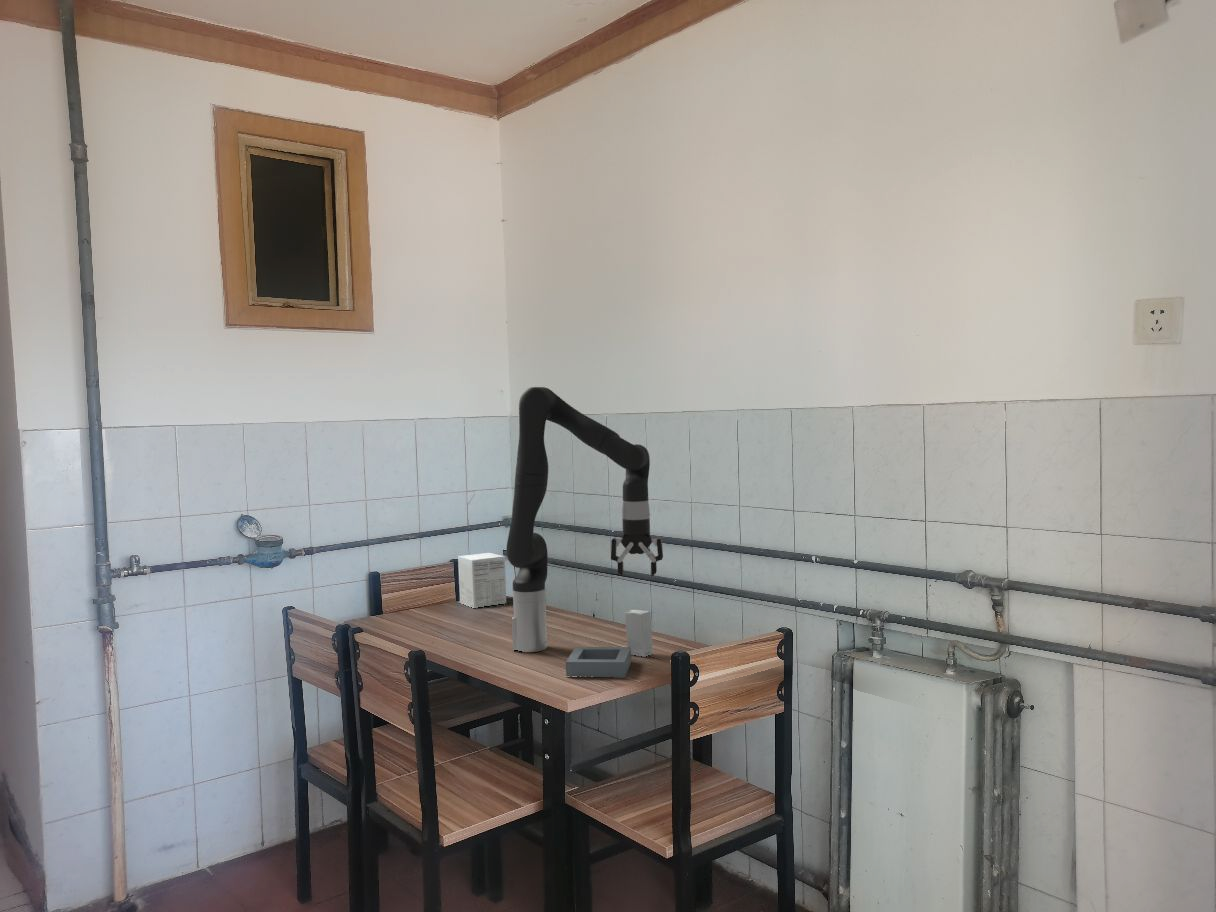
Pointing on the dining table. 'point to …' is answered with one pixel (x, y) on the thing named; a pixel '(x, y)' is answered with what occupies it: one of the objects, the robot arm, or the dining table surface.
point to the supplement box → (482, 579)
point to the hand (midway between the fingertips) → (637, 575)
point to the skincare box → (639, 632)
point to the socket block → (599, 662)
